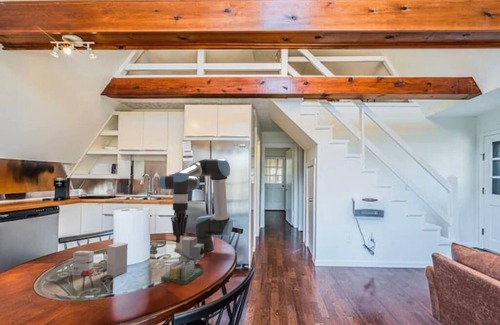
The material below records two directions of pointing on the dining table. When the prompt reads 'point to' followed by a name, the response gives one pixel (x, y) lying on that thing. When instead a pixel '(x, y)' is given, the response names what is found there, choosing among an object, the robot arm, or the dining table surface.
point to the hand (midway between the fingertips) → (178, 248)
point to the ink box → (83, 263)
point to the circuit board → (182, 272)
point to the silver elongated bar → (183, 254)
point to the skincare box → (117, 259)
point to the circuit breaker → (192, 249)
